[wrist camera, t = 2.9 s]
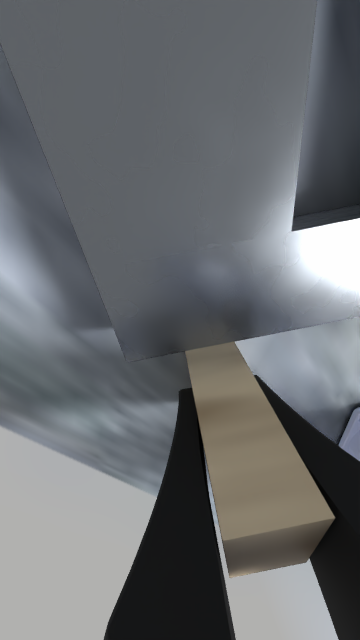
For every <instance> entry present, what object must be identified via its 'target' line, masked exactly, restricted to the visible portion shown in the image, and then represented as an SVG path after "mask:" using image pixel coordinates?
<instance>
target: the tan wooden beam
mask: <svg viewBox="0 0 360 640" xmlns="http://www.w3.org/2000/svg"><path fill="white" fill-rule="evenodd" d="M185 354H186V359H187V364H188V369H189V374H190V379H191V385H192V389H193V394H194V399H195V404H196V409H197V415H198V420H199V425H200V430H201V435H202V441H203V446H204V451H205V456H206V461H207V466H208V471H209V476H210V482H211V487H212V492H213V497H214V502H215V507H216V512H217V517H218V522H219V527H220V532H221V537H222V543H223V548H224V552H225V558H226V563H227V568H228V573H229V578H232V577H237V576H242V575H247V574H251V573H257V572H262V571H267V570H271V569H276V568H281V567H286V566H290V565H296V564H301V563H306V562H307V560H308V559H309V557H310V556H311V554H312V553H313V551H314V550H315V548H316V547H317V545H318V544H319V542H320V541H321V539H322V538H323V536H324V534H325V533H326V531H327V530H328V528H329V527H330V525H331V524H332V522H333V521H334V519H335V517H334V515H333V513H332V511H331V510H330V508H329V506H328V504H327V503H326V501H325V499H324V497H323V496H322V494H321V492H320V490H319V489H318V487H317V485H316V483H315V482H314V480H313V478H312V476H311V475H310V473H309V471H308V469H307V468H306V466H305V464H304V463H303V461H302V459H301V457H300V456H299V454H298V452H297V450H296V449H295V447H294V445H293V443H292V442H291V440H290V438H289V436H288V435H287V433H286V431H285V429H284V428H283V426H282V424H281V422H280V421H279V419H278V417H277V415H276V414H275V412H274V410H273V409H272V407H271V405H270V403H269V402H268V400H267V398H266V396H265V395H264V393H263V391H262V389H261V388H260V386H259V384H258V382H257V381H256V379H255V377H254V375H253V374H252V372H251V370H250V368H249V367H248V365H247V363H246V361H245V360H244V358H243V356H242V354H241V353H240V351H239V349H238V348H237V346H236V344H235V342H229V343H224V344H219V345H214V346H209V347H203V348H198V349H193V350H188V351H185Z"/></svg>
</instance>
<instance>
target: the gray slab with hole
mask: <svg viewBox="0 0 360 640" xmlns="http://www.w3.org/2000/svg"><path fill="white" fill-rule="evenodd" d="M316 6H317V0H0V44H1V46H2V49H3V51H4V54H5V56H6V59H7V61H8V64H9V66H10V69H11V71H12V74H13V77H14V79H15V82H16V84H17V87H18V89H19V92H20V94H21V97H22V99H23V102H24V104H25V107H26V109H27V112H28V114H29V117H30V119H31V122H32V124H33V127H34V129H35V132H36V134H37V137H38V140H39V142H40V145H41V147H42V150H43V152H44V155H45V157H46V160H47V162H48V165H49V167H50V170H51V172H52V175H53V177H54V180H55V182H56V185H57V187H58V190H59V192H60V195H61V197H62V200H63V202H64V205H65V208H66V210H67V213H68V215H69V218H70V220H71V223H72V225H73V228H74V230H75V233H76V235H77V238H78V240H79V243H80V245H81V248H82V250H83V253H84V255H85V258H86V260H87V263H88V265H89V268H90V271H91V273H92V276H93V278H94V281H95V283H96V286H97V288H98V291H99V293H100V296H101V298H102V301H103V303H104V306H105V308H106V311H107V313H108V316H109V318H110V321H111V323H112V326H113V328H114V331H115V334H116V336H117V339H118V341H119V344H120V346H121V349H122V351H123V354H124V356H125V359H126V361H127V362H132V361H137V360H142V359H147V358H152V357H158V356H163V355H168V354H173V353H178V352H183V351H188V350H193V349H198V348H203V347H209V346H214V345H219V344H224V343H229V342H234V341H239V340H244V339H249V338H255V337H260V336H265V335H270V334H275V333H280V332H285V331H290V330H295V329H301V328H306V327H311V326H316V325H321V324H326V323H331V322H336V321H341V320H347V319H352V318H357V317H360V205H354V206H349V207H344V208H339V209H334V210H328V211H323V212H318V213H313V214H307V215H302V216H297V217H293V213H294V204H295V195H296V186H297V177H298V168H299V159H300V150H301V141H302V132H303V123H304V114H305V105H306V96H307V87H308V78H309V69H310V60H311V51H312V42H313V33H314V24H315V15H316Z"/></svg>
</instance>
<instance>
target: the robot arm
mask: <svg viewBox="0 0 360 640" xmlns="http://www.w3.org/2000/svg"><path fill="white" fill-rule="evenodd" d="M254 377H255V379H256V381H257V382H258V384H259V386H260V388H261V389H262V391H263V393H264V395H265V396H266V398H267V400H268V402H269V403H270V405H271V407H272V409H273V410H274V412H275V414H276V415H277V417H278V419H279V421H280V422H281V424H282V426H283V428H284V429H285V431H286V433H287V435H288V436H289V438H290V440H291V442H292V443H293V445H294V447H295V449H296V450H297V452H298V454H299V456H300V457H301V459H302V461H303V463H304V464H305V466H306V468H307V469H308V471H309V473H310V475H311V476H312V478H313V480H314V482H315V483H316V485H317V487H318V489H319V490H320V492H321V494H322V496H323V497H324V499H325V501H326V503H327V504H328V506H329V508H330V510H331V511H332V513H333V515H334V517H335V519H334V521H333V522H332V524H331V525H330V527H329V528H328V530H327V531H326V533H325V534H324V536H323V538H322V539H321V541H320V542H319V544H318V545H317V547H316V548H315V550H314V551H313V553H312V554H311V556H310V557H309V558H310V561H311V564H312V566H313V569H314V572H315V574H316V577H317V580H318V583H319V586H320V588H321V591H322V594H323V597H324V600H325V602H326V605H327V608H328V611H329V613H330V616H331V619H332V622H333V625H334V628H335V631H336V634H337V636H338V639H339V640H360V407H358V408H356V409H355V410H354V411H353V413H352V416H351V418H350V420H349V422H348V425H347V427H346V429H345V431H344V434H343V436H342V438H341V440H340V443H339V445H336V444H335V443H334V442H332V441H331V440H330V439H328V438H327V437H326V436H325V435H323V434H322V433H321V432H319V431H318V430H317V429H316V428H314V427H313V426H312V425H311V424H310V423H308V422H307V421H306V420H305V419H304V418H302V417H301V416H300V415H299V414H298V413H297V412H295V411H294V410H293V409H292V408H291V407H290V406H289V405H287V404H286V403H285V402H284V401H283V400H282V399H281V398H280V397H279V396H278V395H277V394H276V393H275V392H273V391H272V390H271V389H270V388H269V387H268V386H267V385H266V384H265V383H264V382H263V381H262V380H261V379H260V378H259V377H258V376H257V375H254ZM104 640H236V639H235V633H234V628H233V623H232V617H231V612H230V606H229V601H228V596H227V590H226V585H225V580H224V575H223V569H222V563H221V558H220V553H219V548H218V542H217V537H216V531H215V526H214V520H213V515H212V509H211V504H210V498H209V491H208V484H207V475H206V466H205V458H204V449H203V441H202V435H201V430H200V425H199V420H198V415H197V409H196V404H195V399H194V394H193V389H192V388H187V389H182V390H180V391H179V406H178V414H177V421H176V427H175V432H174V437H173V442H172V446H171V451H170V455H169V459H168V463H167V467H166V470H165V474H164V477H163V480H162V484H161V487H160V490H159V493H158V496H157V500H156V503H155V506H154V509H153V512H152V514H151V517H150V520H149V523H148V526H147V528H146V531H145V533H144V536H143V539H142V541H141V544H140V547H139V550H138V552H137V555H136V557H135V560H134V562H133V565H132V567H131V570H130V572H129V574H128V577H127V579H126V581H125V584H124V586H123V589H122V591H121V593H120V596H119V598H118V600H117V603H116V605H115V607H114V610H113V612H112V615H111V617H110V619H109V622H108V625H107V629H106V633H105V636H104Z"/></svg>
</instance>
